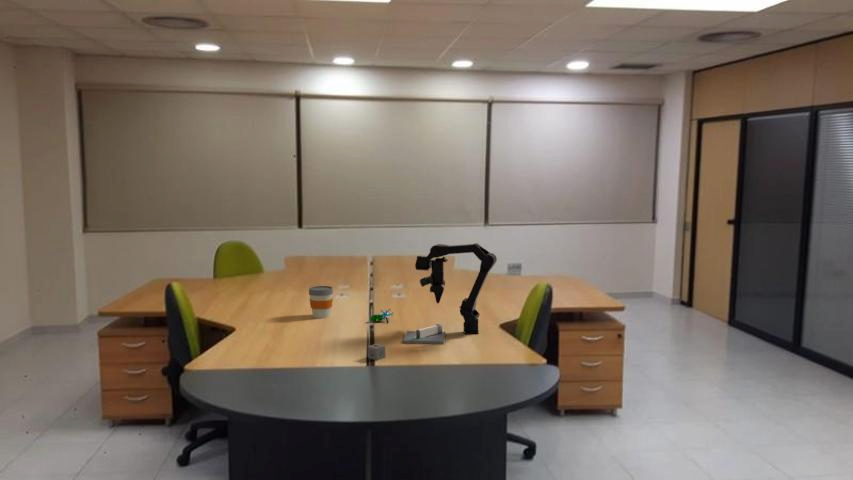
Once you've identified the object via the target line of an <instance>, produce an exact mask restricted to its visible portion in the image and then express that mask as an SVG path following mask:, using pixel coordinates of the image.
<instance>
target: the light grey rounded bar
mask: <svg viewBox="0 0 853 480" xmlns="http://www.w3.org/2000/svg"><path fill="white" fill-rule="evenodd" d="M415 331H416V338H418V339H419V338H423V337H426V336H430V335H434V334H440V333H442V332H443V324H440V323H438V324H437V323H436V324H435V325H431V326H427V327H424V328H420V329H416V330H415Z"/></svg>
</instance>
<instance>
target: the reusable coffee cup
mask: <svg viewBox="0 0 853 480" xmlns="http://www.w3.org/2000/svg"><path fill="white" fill-rule="evenodd" d="M308 294H309V300H308V301H309V306H310V308H311V311H312V317H313V318H314V319H327V318H329V317H331V312H332V307H333V302H334V300H333V294H334V288H333V287H332V286H329V285H317V286H311V287H309V288H308Z"/></svg>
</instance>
